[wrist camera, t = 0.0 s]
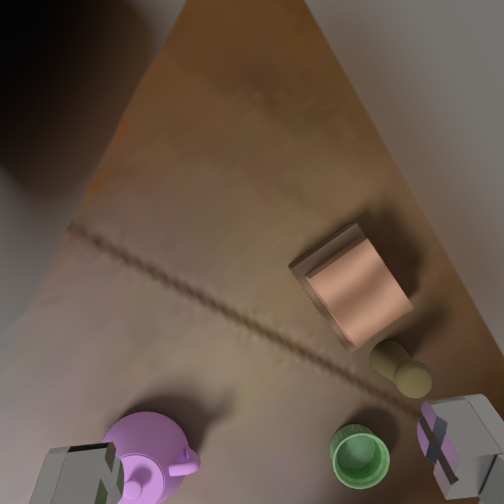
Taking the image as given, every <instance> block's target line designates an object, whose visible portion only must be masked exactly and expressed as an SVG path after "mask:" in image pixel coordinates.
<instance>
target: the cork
mask: <svg viewBox="0 0 504 504" xmlns="http://www.w3.org/2000/svg"><path fill="white" fill-rule="evenodd" d="M370 362H371V365H372V368H373V369H374V370H375V371H376V372H377V373H378V374H380V375H381V376H383V377H385V378H387V379H388V380H390V381H392V382H394V383H395V385H396V387H397V389H398V390H399V391H400V392H401V393H402V394H403V395H405V396H407V397H409V398H421V397H423V396H425V395H426V394H427V393H428V392H429V391H430V390H431V388H432V384H433V376H432V374H431V371H430V370H429V368H428V367H427V366H426V365H425V364H423V363H421V362H419V361H415V360H413V358H412V357H411V356H410V355H409V354H408V353H407V351H406V350H405V349H404V348H403V347H402V346H401V345H400V344H399V343H397V342H395V341H391V340H386V341H382V342H380V343H378V344H377V345H376V346H375V347H374V348H373V350H372V352H371V356H370Z"/></svg>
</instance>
